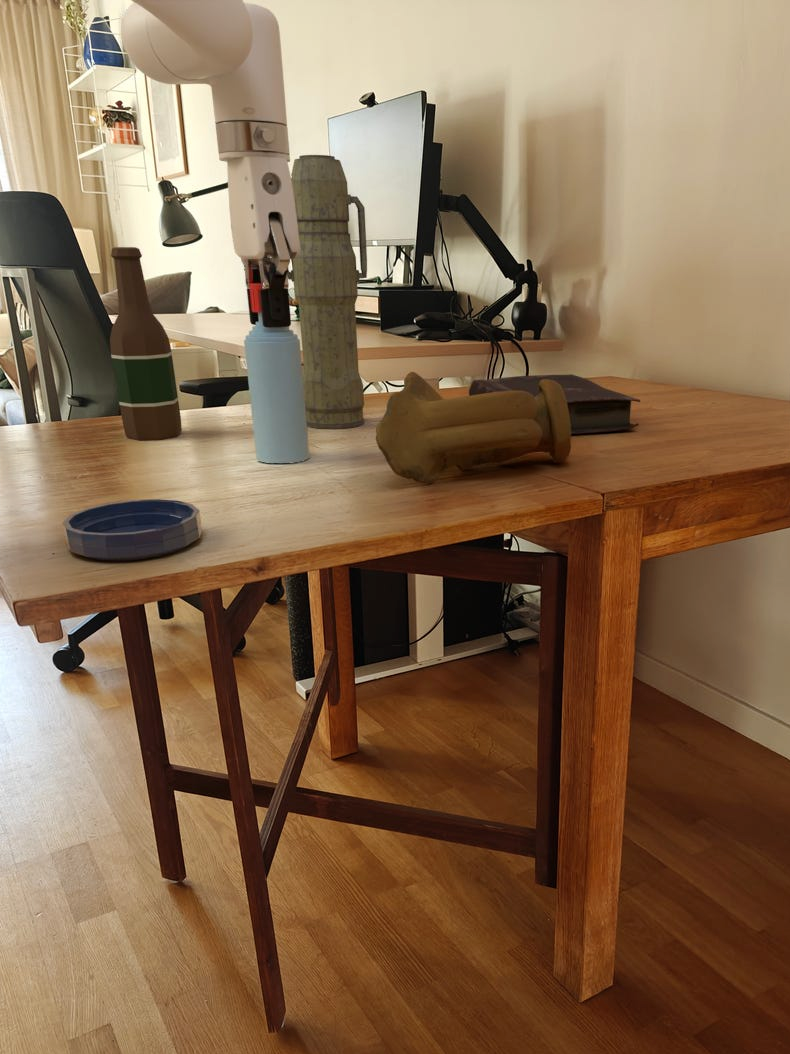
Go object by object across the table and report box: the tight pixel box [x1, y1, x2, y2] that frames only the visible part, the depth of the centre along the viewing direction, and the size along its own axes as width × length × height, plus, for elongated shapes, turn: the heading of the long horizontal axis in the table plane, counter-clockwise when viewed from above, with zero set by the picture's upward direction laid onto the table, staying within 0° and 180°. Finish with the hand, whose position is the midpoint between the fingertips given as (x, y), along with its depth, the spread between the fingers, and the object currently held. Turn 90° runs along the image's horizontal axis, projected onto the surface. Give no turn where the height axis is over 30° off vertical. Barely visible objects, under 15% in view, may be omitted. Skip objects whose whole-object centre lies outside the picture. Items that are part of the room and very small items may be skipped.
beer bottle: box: [109, 246, 183, 441], centre depth 116 cm, size 8×8×24 cm
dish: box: [61, 498, 203, 562], centre depth 75 cm, size 11×11×2 cm
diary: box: [468, 373, 641, 435], centre depth 130 cm, size 19×25×5 cm
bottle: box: [243, 312, 310, 463], centre depth 103 cm, size 6×6×20 cm
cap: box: [249, 283, 263, 313], centre depth 99 cm, size 4×4×3 cm
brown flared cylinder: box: [375, 371, 572, 485], centre depth 99 cm, size 18×13×22 cm
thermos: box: [287, 154, 368, 430], centre depth 122 cm, size 9×12×35 cm
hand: (270, 323), depth 101 cm, fingers closed on cap, 3 cm apart
